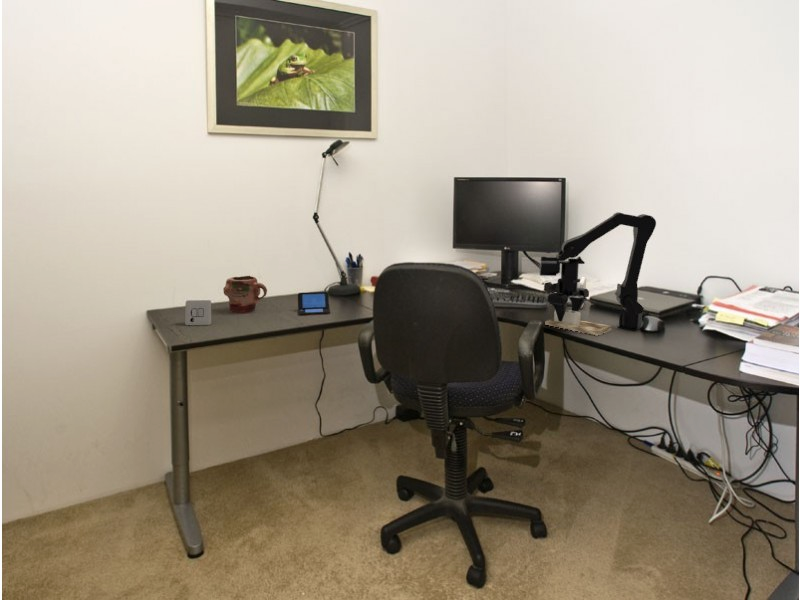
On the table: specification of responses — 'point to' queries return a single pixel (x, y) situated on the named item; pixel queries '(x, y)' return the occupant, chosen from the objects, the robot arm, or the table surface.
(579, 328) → the board
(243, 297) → the reddish brown mug
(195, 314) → the electrical switch
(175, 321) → the table surface
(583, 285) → the cable organizer
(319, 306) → the handheld game console
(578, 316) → the white rectangular block
